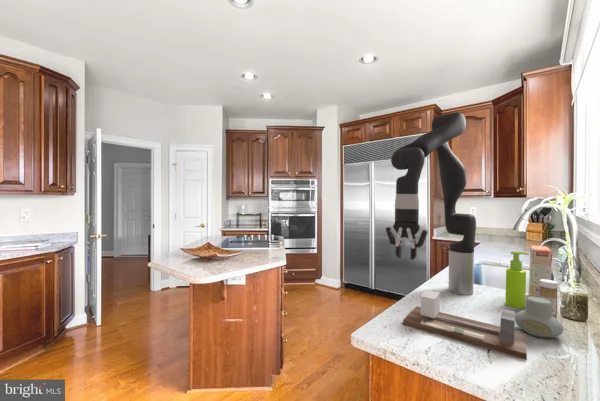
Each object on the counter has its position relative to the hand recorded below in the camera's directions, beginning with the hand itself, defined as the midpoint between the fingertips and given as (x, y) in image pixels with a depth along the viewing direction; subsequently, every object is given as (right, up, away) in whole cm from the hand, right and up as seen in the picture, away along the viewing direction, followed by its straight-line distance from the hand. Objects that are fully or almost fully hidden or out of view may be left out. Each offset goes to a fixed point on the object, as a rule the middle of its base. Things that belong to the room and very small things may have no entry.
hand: (405, 258), depth 95 cm
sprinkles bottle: (+44, -20, -4) cm, 49 cm away
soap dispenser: (+45, -20, +10) cm, 51 cm away
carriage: (+5, -17, -6) cm, 19 cm away
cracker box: (+58, -20, +15) cm, 64 cm away
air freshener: (+35, -20, -12) cm, 42 cm away
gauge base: (+13, -20, -11) cm, 26 cm away
